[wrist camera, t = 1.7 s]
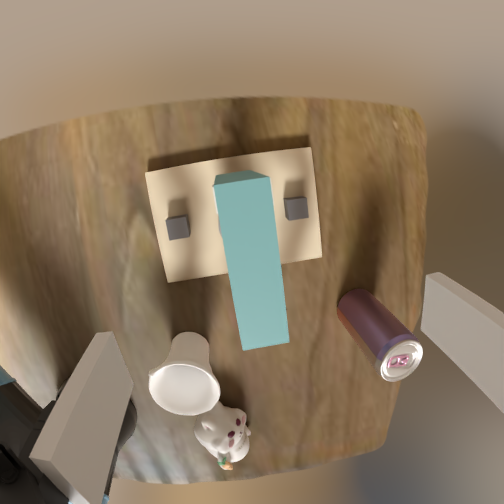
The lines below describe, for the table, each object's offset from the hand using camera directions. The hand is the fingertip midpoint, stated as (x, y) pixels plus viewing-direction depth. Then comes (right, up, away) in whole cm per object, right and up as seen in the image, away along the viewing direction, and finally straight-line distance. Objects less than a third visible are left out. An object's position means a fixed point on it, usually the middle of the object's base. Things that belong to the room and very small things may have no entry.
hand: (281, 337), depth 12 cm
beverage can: (+14, -5, +33) cm, 36 cm away
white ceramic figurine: (-6, -25, +37) cm, 45 cm away
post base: (-3, +8, +27) cm, 29 cm away
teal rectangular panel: (-2, +6, +20) cm, 21 cm away
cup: (-10, -11, +32) cm, 36 cm away
